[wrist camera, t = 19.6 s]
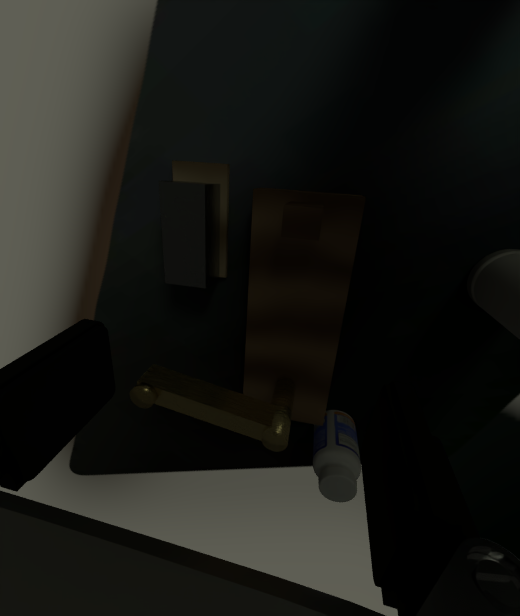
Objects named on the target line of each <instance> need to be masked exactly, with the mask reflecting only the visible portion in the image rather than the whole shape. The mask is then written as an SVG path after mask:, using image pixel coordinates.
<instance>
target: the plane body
mask: <svg viewBox="0 0 520 616" xmlns="http://www.w3.org/2000/svg"><path fill="white" fill-rule="evenodd" d="M365 200H366V197H364V196H362V195H352V194H338V193H325V192H311V191H298V190H284V189H271V188H256V189H253V207H252V227H251V247H250V266H249V286H248V306H247V326H246V346H245V366H244V386H243V395H246V396H249V397H252V398H255V399H258V400H261V401H264V402H267V403H271V399H272V395H273V391H274V387H275V383H276V381H277V380H278V379H279V378H283V377H286V378H289V379H291V380H293V381H294V383H295V385H296V389H295V396H294V403H293V410H292V417H291V420H294V421H299V422H304V423H309V424H315V425H320V426H323V422H324V417H325V412H326V407H327V401H328V396H329V391H330V385H331V380H332V375H333V370H334V364H335V359H336V354H337V348H338V343H339V338H340V332H341V327H342V322H343V317H344V311H345V306H346V301H347V295H348V290H349V285H350V280H351V274H352V269H353V264H354V258H355V253H356V248H357V243H358V237H359V232H360V227H361V221H362V216H363V211H364V206H365Z"/></svg>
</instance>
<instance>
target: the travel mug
mask: <svg viewBox="0 0 520 616" xmlns="http://www.w3.org/2000/svg"><path fill="white" fill-rule="evenodd" d="M467 291H468V294H469V296H470V298H471V299H472V300H473V301H474V302H475V303H476V304H477V305H478V306H480V307H481V308H482V309H483V310H484V311H486V312H487V313H488V314H489V315H491V316H492V317H493V318H494V319H495V320H497V321H498V322H499V323H500V324H502V325H503V326H504V327H505V328H506V329H508V330H509V331H510V332H511V333H513V334H514V335H515V336H516V337H517V338H519V339H520V250H517V249H505V250H500V251H496V252H493V253H491V254H489V255H487V256H486V257H484V258H483V259H481V260H480V261H479V262H478V263H477V264H476V265H475V266H474V267H473V269H472V270H471V272H470V274H469V276H468V280H467Z"/></svg>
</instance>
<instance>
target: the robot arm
mask: <svg viewBox="0 0 520 616" xmlns="http://www.w3.org/2000/svg"><path fill="white" fill-rule="evenodd" d="M114 392H115V381H114V374H113V366H112V359H111V351H110V344H109V336H108V330H107V328H106V327H104V324H103V323H101V322H98V321H93V320H88V319H83V320H81V321H79V322H78V323H76V324H74V325H73V326H71V327H69V328H68V329H66V330H64V331H63V332H61V333H59V334H58V335H56V336H54V337H53V338H51V339H50V340H48V341H46V342H45V343H43V344H41V345H39V346H38V347H36V348H35V349H33V350H31V351H30V352H28V353H26V354H24V355H23V356H21V357H19V358H18V359H16V360H15V361H13V362H11V363H10V364H8V365H6V366H5V367H3V368H1V369H0V486H1V487H3V488H7V489H10V490H13V491H18V490H19V489H20V488H21V487H22V486H23V485H24V484H25V483H26V482H27V481H30V480H32V479H34V478H35V477H36V476H37V475H38V474H39V473H40V472H41V471H42V470H43V469H44V468H45V467H46V465H47V464H48V463H49V462H50V461H51V460H52V459H53V458H54V457H55V456H56V455H57V454H58V453H59V452H60V451H61V450H62V449H63V448H64V447H65V446H66V445H67V444H68V443H69V442H70V441H71V440H72V438H73V437H74V436H75V435H76V434H77V433H78V432H79V431H80V430H81V429H82V428H83V427H84V426H85V425H86V424H87V423H88V422H89V421H90V420H91V419H92V418H93V417H94V416H95V415H96V414H97V413H98V411H99V410H100V409H101V408H102V407H103V406H104V405H105V404H106V403H107V402H108V401H109V400H110V399H111V398H112V397H113V395H114ZM361 465H362V474H363V484H364V492H365V493H364V494H365V503H366V512H367V522H368V532H369V542H370V551H371V561H372V571H373V579H374V583H375V585H376V586H378V587H381V589H382V597H383V604H384V605H386V606H390V607H393V608H396V609H397V610H398V616H520V560H519V559H518V558H517V557H515V556H514V555H513V554H512V553H510V552H509V551H508V550H506V549H505V548H503V547H502V546H500V545H498V544H496V543H494V542H492V541H489V540H487V539H482V538H480V536H479V534H478V531H477V529H476V526H475V524H474V521H473V519H472V516H471V514H470V512H469V509H468V507H467V504H466V502H465V499H464V497H463V495H462V492H461V489H460V487H459V484H458V482H457V480H456V477H455V474H454V472H453V470H452V467H451V465H450V462H449V460H448V457H447V455H446V452H445V450H444V447H443V445H442V443H441V441H440V439H439V438H438V437H436V436H432V435H431V433H430V430H429V428H428V425H427V422H426V420H425V417H424V414H423V412H422V409H421V406H420V404H419V401H418V398H417V396H416V393H415V391H414V388H413V386H412V385H408V384H403V383H398V382H393V381H392V382H391V383H390V384H389V385H383V387H382V389H381V392H380V395H379V398H378V401H377V404H376V407H375V410H374V413H373V416H372V419H371V421H370V424H369V427H368V430H367V433H366V436H365V439H364V442H363V445H362V449H361ZM0 616H385V615H383V614H380V613H378V612H375V611H373V610H370V609H368V608H365V607H363V606H360V605H358V604H355V603H353V602H350V601H347V600H344V599H341V598H338V597H335V596H332V595H329V594H326V593H323V592H320V591H317V590H314V589H312V588H309V587H306V586H303V585H300V584H297V583H294V582H291V581H288V580H285V579H282V578H279V577H276V576H273V575H270V574H266V573H263V572H260V571H257V570H254V569H251V568H247V567H244V566H241V565H238V564H235V563H231V562H229V561H225V560H222V559H219V558H216V557H213V556H210V555H207V554H203V553H200V552H197V551H194V550H191V549H188V548H184V547H181V546H178V545H175V544H172V543H169V542H165V541H162V540H159V539H156V538H152V537H149V536H146V535H143V534H139V533H136V532H133V531H130V530H127V529H124V528H120V527H117V526H114V525H111V524H107V523H104V522H101V521H98V520H94V519H91V518H88V517H85V516H82V515H78V514H75V513H72V512H68V511H66V510H62V509H59V508H56V507H52V506H49V505H46V504H42V503H39V502H36V501H33V500H29V499H26V498H23V497H20V496H16V495H13V494H10V493H6V492H3V491H0Z"/></svg>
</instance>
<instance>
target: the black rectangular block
mask: <svg viewBox="0 0 520 616" xmlns="http://www.w3.org/2000/svg"><path fill="white" fill-rule="evenodd" d="M159 194H160V210H161V225H162V241H163V257H164V273H165V283H168V284H175V285H183V286H191V287H198V288H207V287H208V286H209V285H210V284H211V283H212V282H213V281H214V280H216V279H217V278H218V277H219V263H220V184H216V183H203V182H190V181H159Z"/></svg>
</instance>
